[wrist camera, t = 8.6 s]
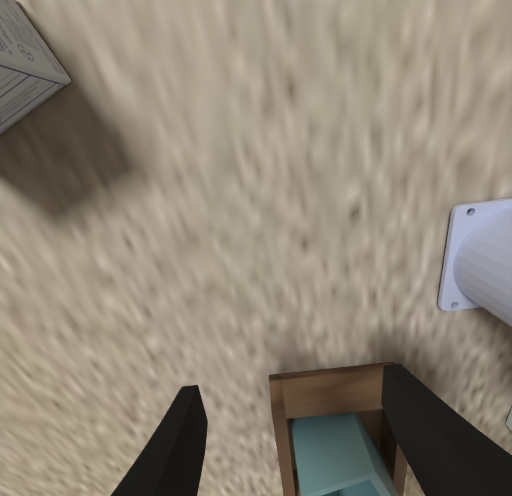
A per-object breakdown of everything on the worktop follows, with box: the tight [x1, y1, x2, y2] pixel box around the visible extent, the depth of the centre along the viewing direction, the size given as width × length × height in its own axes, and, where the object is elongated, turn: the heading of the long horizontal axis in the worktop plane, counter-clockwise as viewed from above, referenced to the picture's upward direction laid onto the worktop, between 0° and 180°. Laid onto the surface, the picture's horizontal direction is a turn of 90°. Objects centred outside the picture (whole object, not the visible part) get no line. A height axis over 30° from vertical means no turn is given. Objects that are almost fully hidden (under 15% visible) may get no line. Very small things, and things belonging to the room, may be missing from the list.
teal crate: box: [290, 412, 399, 496], centre depth 21 cm, size 5×8×6 cm, turn 29°
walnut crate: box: [269, 362, 408, 496], centre depth 23 cm, size 10×13×3 cm
